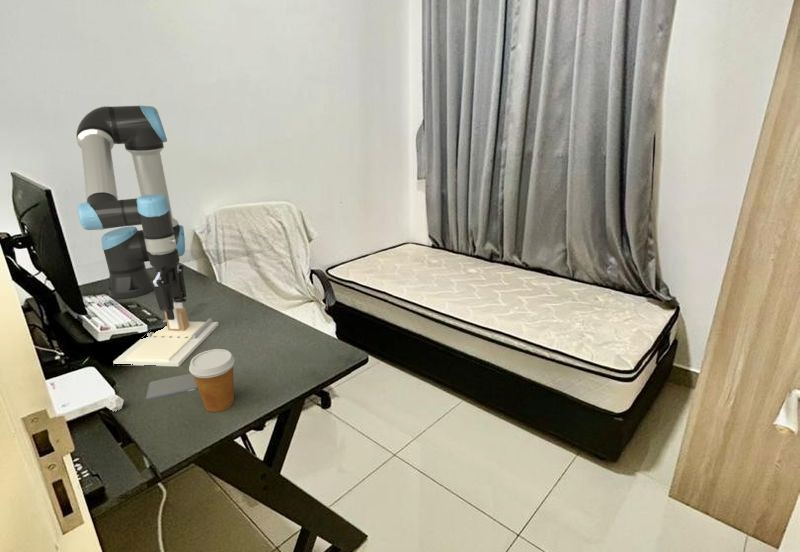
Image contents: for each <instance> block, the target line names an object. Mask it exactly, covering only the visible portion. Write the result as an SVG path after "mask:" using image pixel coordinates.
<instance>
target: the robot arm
mask: <svg viewBox="0 0 800 552" xmlns="http://www.w3.org/2000/svg"><path fill="white" fill-rule="evenodd" d="M162 123H163V122H162V120H161V117H160V114H159V111H158V110H157V108H156V107H154V106H150V105H122V106H121V105H120V106H109V105H108V106H100V107H97V108H95V109H92V110H91V111H90V112H88V113H87V114H86V115H85V116H84V117H83V118H82V120H81V121H80V123H79V125H78V127H77V130H76V142H77V145H78V146H79V148H80V149H81V153H82V165H83V166H82V167H83V176H84V185H85V198H86V201H85V202H82V203H78V205H77V215H78V219H79V222H80V224H81V227H82V229H84V230H86V231H99V230H101V231H102V230H106V229H113V228H115V229H113V230H110V231H108V232H106V233H104V234H103V235H102V237H101V245H102V246H101V247H102V248H101V249H102V250H103V253H104V257H105V261H106V264H107V269H108V273H109V276H108V286H107V291H108V295H109V297H110V296H111V298H114V299H129V298H135V297H140V296H143V295H145V294H148V293H150V292H152V291H154V294H155V298H156V301H157V304H158V308H159V310H160V311H166V314H167V319H168V322H169V326H170V329H179V328H180V325H179V320H178V315H177V310H176V308H185V307H184V303H185V302H186V301H187V292H186V285H185V284H186V282H185V277H184V265H182V264H181V265H180V264H179V262H180V257H182V256H183V255H184V254H185V252H186V239H185V228H184V226H183V225H181V224H179V221H178V220H177V219H175V218H174V217H173V212H172V208H171V202H170V198H169V191H168V187H167V181H166V177H165V176H166V175H165V172H164V166H163V162H162V156H161V152H162V150H163V149H164V148H165V146H164V143H166V142H168V138H167V136H166V132H165V128H164V126H163V124H162ZM114 145H124V149H125V150H126V152H129V153H130V154H131V156H132V160H133V161H132V162H133V164H134V165H133V166H134V171H135V175H136V178H137V179H136V180H137V184H138V187H139V191H140V196H138V197H136V198H128V199H118V198H119V197H118V191H117V185H116V184H117V183H116V178H115V168H114V162H113V156H112V154H113V153H112V150H113V148H114ZM140 225H141V227H142V230H141V229H140V230H138V228H137V226H140ZM146 262H149V264H150V266H151V267H153V268H154V270H155V273H154V274H155V278H154V279H153V278H152V276H151V274H150V272H149V270H148V269H147V268H146V264H145V263H146Z"/></svg>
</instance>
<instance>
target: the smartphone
mask: <svg viewBox="0 0 800 552" xmlns="http://www.w3.org/2000/svg"><path fill="white" fill-rule="evenodd" d="M191 391H198V387H197V385H196V382H195V379H194V377H193V375H192V373H191V372H190V373H186V374H182V375H176V376H172V377H167V378H162V379H158V380H156V379H155V380H152V381H150V382H149V383H148V387H147V391H146V396H145V400H152V399H157V398H163V397H167V396H173V395H178V394H182V393H187V392H191Z"/></svg>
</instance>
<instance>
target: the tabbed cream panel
mask: <svg viewBox="0 0 800 552" xmlns="http://www.w3.org/2000/svg"><path fill="white" fill-rule="evenodd" d="M176 310H177V315H178V320H179V325H180V328H179V329H170V326H169V322H168V319H167V314H166V310H164V316H165V319H166V322H167V326H165V327H164V328H163V329H161V330H158V331H156V332H155V333H153V334H152V336H165V337H170V336H172V337H192V335H193V334H194V333H195V332H196V331H197V330H198V329H199V328H200V327H201V326H202V325H203V324H204V323H189V322H190V321H189V317H188V312H187V308H186V307H184V308H176Z"/></svg>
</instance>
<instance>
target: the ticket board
mask: <svg viewBox="0 0 800 552" xmlns="http://www.w3.org/2000/svg"><path fill="white" fill-rule="evenodd" d="M162 321H163V322H166V318H165V319H164V320H162ZM189 323H204V324H203V325H202V326H201V327H200V328H199V329H198V330H197V331H196V332H195V333H194V334H193V335H192V337H172V336H170V337H165V336H152V334H153V333H154V332H150V331H149V332H150V333H149V332H147V333H146V334H147V336H148V337H146V338H143V337H142V338H143V339H141V338H140V339H139V340H137V341H136V342H135V343H134V344H132V345H131V346H130V347H129V348H127V349H126V350H125V351H124V352H123V353H122V354H121V355H119V356H118V357H117V358H115V359H114V360H113V361H112V362H113V365H114V364H131V365H130V366H144V365H156V366H155V367H181V364H182V363H184V362H185V360H186V359H187V358H188V357H190V355H191V354H193V352H194V351H195V350H196V349H197V348H198V347H199V346H200V345H201V344H202V343H203V342H204V341H206V339H207V338H208V337H209V336H210V335H211V333H213V331H214V330H216V328H217V327H218V326H219V325H220V324H219V321H213V318H212V317H211V318H210V317H209V318H207V320H206V321H189ZM132 364H133V365H132Z"/></svg>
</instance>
